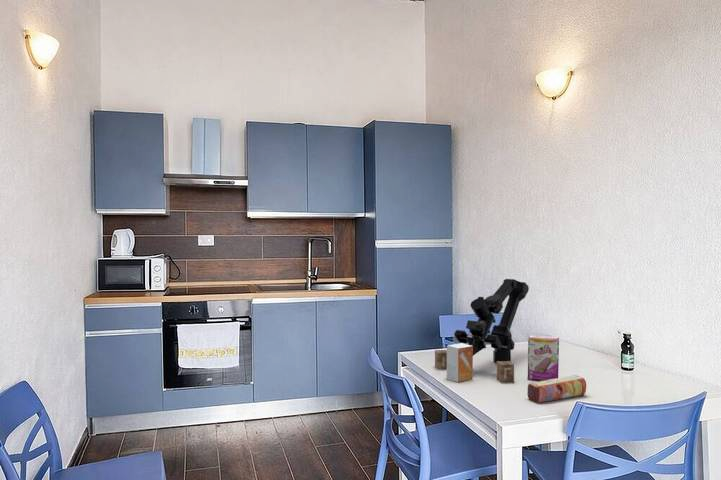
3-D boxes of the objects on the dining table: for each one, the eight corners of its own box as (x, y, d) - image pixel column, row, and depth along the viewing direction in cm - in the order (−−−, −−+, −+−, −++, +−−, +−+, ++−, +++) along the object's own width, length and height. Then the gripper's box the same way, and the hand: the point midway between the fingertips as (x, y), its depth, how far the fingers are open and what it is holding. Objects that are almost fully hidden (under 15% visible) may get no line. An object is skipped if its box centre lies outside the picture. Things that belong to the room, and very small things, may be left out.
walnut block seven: (509, 379, 204) (509, 361, 203) (514, 383, 198) (514, 364, 198) (496, 379, 203) (496, 361, 203) (501, 383, 198) (501, 364, 198)
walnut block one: (446, 366, 222) (446, 349, 222) (449, 369, 217) (449, 352, 217) (434, 366, 222) (434, 350, 222) (437, 370, 217) (437, 353, 217)
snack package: (539, 405, 174) (539, 384, 174) (525, 399, 180) (525, 379, 180) (587, 397, 182) (587, 377, 182) (572, 391, 189) (572, 372, 188)
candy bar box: (527, 380, 202) (527, 337, 202) (527, 376, 207) (528, 334, 207) (558, 383, 199) (559, 339, 198) (558, 379, 203) (558, 336, 203)
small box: (458, 382, 199) (458, 348, 198) (446, 379, 204) (446, 345, 204) (473, 379, 203) (473, 345, 203) (461, 375, 208) (461, 342, 208)
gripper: (456, 310, 219) (441, 341, 211) (497, 315, 206) (483, 348, 198) (466, 326, 225) (452, 357, 217) (507, 332, 212) (493, 365, 204)
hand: (469, 356), depth 209 cm, fingers closed
